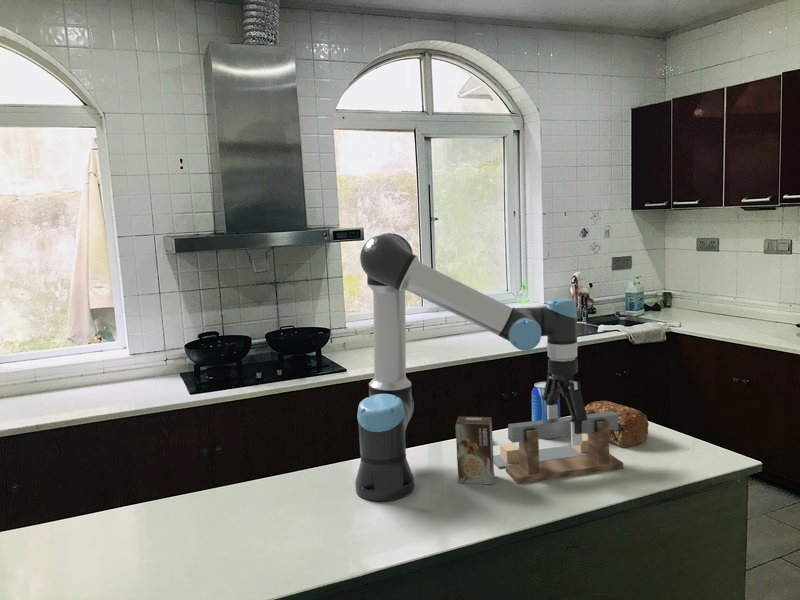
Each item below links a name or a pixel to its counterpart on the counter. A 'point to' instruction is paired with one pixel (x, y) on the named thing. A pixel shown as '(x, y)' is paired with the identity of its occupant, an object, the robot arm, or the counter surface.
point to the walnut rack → (564, 467)
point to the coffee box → (475, 450)
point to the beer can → (541, 403)
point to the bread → (623, 423)
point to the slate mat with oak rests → (511, 453)
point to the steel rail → (559, 426)
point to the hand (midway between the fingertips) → (564, 436)
